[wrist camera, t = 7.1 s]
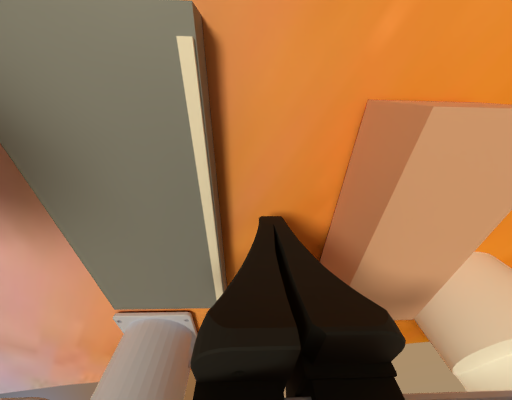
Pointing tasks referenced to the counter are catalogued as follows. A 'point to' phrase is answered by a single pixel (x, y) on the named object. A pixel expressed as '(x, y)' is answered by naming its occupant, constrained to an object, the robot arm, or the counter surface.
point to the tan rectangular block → (419, 198)
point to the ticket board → (118, 141)
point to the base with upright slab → (474, 323)
